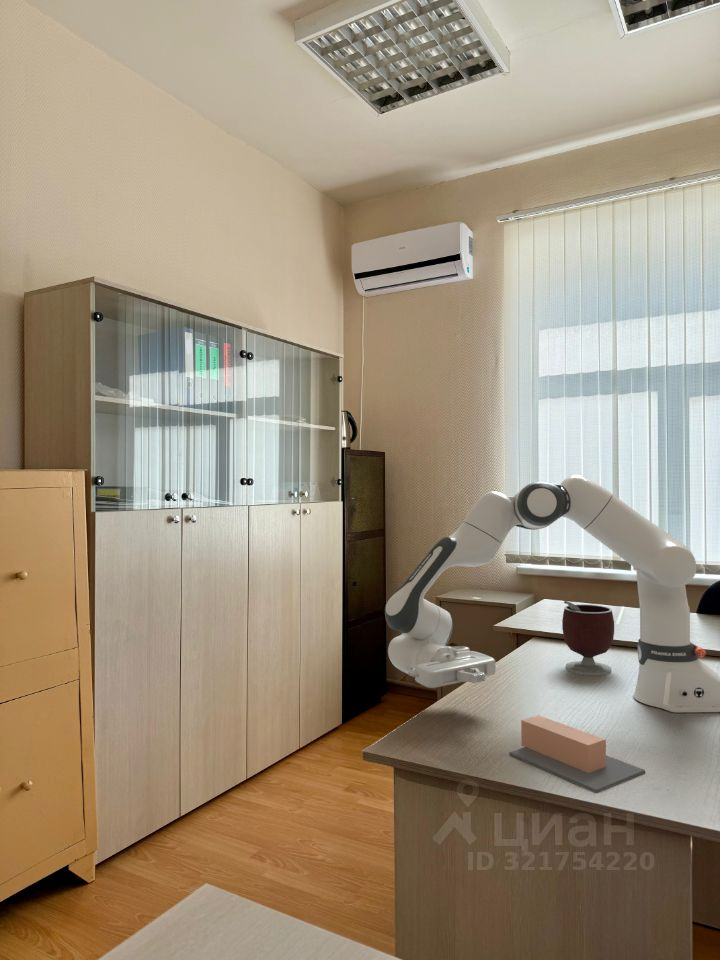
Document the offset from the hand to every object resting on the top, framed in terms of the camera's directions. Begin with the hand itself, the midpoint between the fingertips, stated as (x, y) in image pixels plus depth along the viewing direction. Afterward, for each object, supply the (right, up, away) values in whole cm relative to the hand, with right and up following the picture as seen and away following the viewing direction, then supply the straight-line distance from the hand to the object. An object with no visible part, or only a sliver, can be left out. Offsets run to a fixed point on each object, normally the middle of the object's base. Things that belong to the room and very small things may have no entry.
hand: (480, 678), depth 151 cm
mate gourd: (+37, -10, +43) cm, 58 cm away
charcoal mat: (+14, -10, -21) cm, 27 cm away
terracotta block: (+8, -7, -11) cm, 16 cm away
